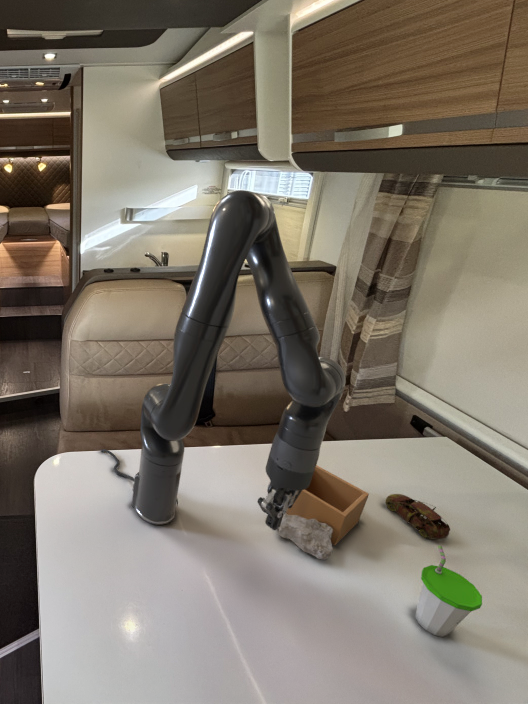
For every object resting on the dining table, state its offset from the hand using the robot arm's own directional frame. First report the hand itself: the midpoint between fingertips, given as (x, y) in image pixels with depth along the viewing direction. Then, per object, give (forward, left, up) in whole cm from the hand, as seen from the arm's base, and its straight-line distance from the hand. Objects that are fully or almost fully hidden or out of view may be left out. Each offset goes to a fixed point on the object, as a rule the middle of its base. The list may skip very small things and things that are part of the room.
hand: (271, 526), depth 86 cm
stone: (+5, +11, -10) cm, 16 cm away
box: (+5, +22, -10) cm, 25 cm away
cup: (+27, +8, -10) cm, 30 cm away
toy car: (+22, +36, -10) cm, 43 cm away
